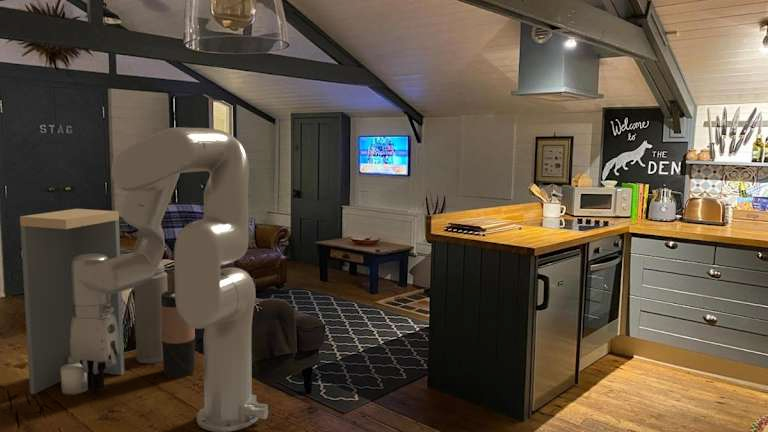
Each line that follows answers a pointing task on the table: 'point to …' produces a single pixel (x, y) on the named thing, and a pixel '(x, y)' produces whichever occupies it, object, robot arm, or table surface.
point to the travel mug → (176, 340)
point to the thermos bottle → (150, 317)
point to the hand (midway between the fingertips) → (95, 388)
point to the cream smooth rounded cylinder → (73, 378)
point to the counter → (61, 284)
